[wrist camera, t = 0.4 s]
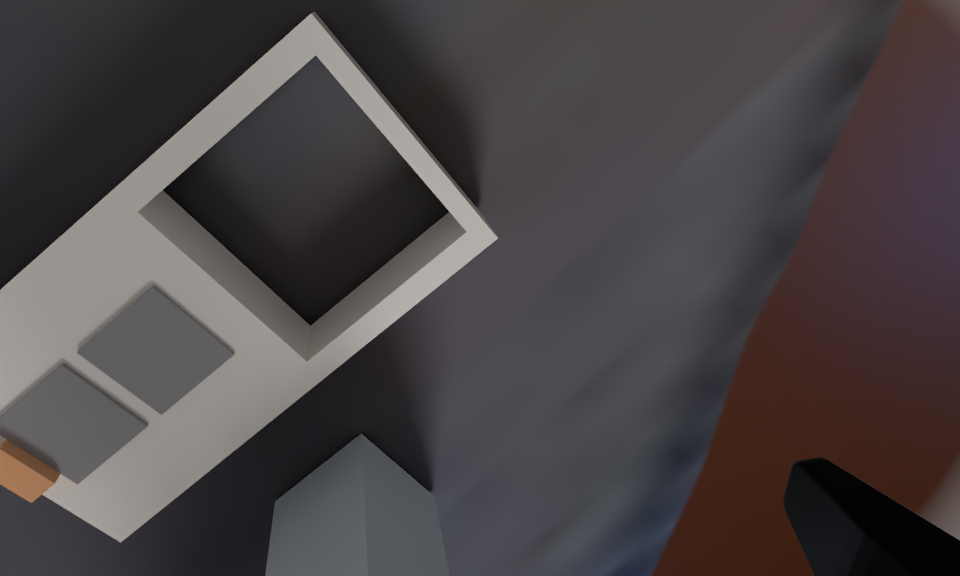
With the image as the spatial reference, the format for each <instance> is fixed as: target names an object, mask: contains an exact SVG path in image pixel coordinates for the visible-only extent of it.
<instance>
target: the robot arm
mask: <svg viewBox="0 0 960 576" xmlns="http://www.w3.org/2000/svg"><path fill="white" fill-rule="evenodd" d="M784 507H785V511H786V514H787V516H788V518H789V521H790V523H791V525H792V527H793V529H794V531H795V534H796V536H797V538H798V540H799V542H800V544H801V547H802V549H803V551H804V553H805V555H806V557H807V560H808V562H809V564H810V566H811V568H812V570H813V573H814V575H815V576H960V540H958V539H956V538H955V537H953V536H951V535H950V534H948V533H946V532H945V531H943V530H942V529H940V528H938V527H936V526H935V525H933V524H932V523H930V522H929V521H927V520H925V519H924V518H922V517H920V516H919V515H917V514H916V513H914V512H912V511H910V510H909V509H907V508H906V507H904V506H902V505H901V504H899V503H897V502H896V501H894V500H893V499H891V498H889V497H888V496H886V495H884V494H883V493H881V492H879V491H878V490H876V489H875V488H873V487H871V486H869V485H868V484H866V483H865V482H863V481H862V480H860V479H858V478H857V477H855V476H853V475H852V474H850V473H849V472H847V471H845V470H844V469H842V468H840V467H839V466H837V465H835V464H834V463H832V462H831V461H829V460H827V459H824V458H812V459H807V460H801V461H797V462H796V463H794V465H793V466H792V469H791V472H790V476H789V480H788V484H787V487H786V491H785V495H784Z"/></svg>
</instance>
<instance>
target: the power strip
mask: <svg viewBox="0 0 960 576" xmlns="http://www.w3.org/2000/svg"><path fill="white" fill-rule="evenodd" d="M314 56H317V57H318V58H319V59H320V61H321V62H322V63H323V64H324V65H325V66H326V68H327V69H328V70H329V71H330V72H331V74H332V75H333V76H334V77H335V78H336V79H337V81H338V82H339V83H340V84H341V85H342V86H343V88H344V89H345V90H346V91H347V92H348V93H349V95H350V96H351V97H352V98H353V99H354V100H355V102H356V103H357V104H358V105H359V106H360V107H361V109H362V110H363V111H364V112H365V113H366V115H367V116H368V117H369V118H370V119H371V120H372V122H373V123H374V124H375V125H376V126H377V127H378V129H379V130H380V131H381V132H382V133H383V134H384V136H385V137H386V138H387V139H388V140H389V141H390V143H391V144H392V145H393V146H394V147H395V149H396V150H397V151H398V152H399V153H400V154H401V156H402V157H403V158H404V159H405V160H406V161H407V163H408V164H409V165H410V166H411V167H412V168H413V170H414V171H415V172H416V173H417V174H418V175H419V177H420V178H421V179H422V180H423V181H424V183H425V184H426V185H427V186H428V187H429V188H430V190H431V191H432V192H433V193H434V194H435V195H436V197H437V198H438V199H439V200H440V201H441V202H442V204H443V205H444V206H445V207H446V208H447V209H448V211H449V212H448V213H447V214H446V215H445V216H444V217H442V218H441V219H440V220H439V221H437V222H436V223H435V224H434V225H433V226H431V227H430V228H429V229H428V230H427V231H425V232H424V233H423V234H422V235H420V236H419V237H418V238H417V239H416V240H414V241H413V242H412V243H411V244H409V245H408V246H407V247H406V248H405V249H403V250H402V251H401V252H400V253H398V254H397V255H396V256H395V257H394V258H392V259H391V260H390V261H389V262H388V263H386V264H385V265H384V266H383V267H381V268H380V269H379V270H378V271H377V272H375V273H374V274H373V275H372V276H370V277H369V278H368V279H367V280H366V281H364V282H363V283H362V284H361V285H359V286H358V287H357V288H356V289H355V290H353V291H352V292H351V293H350V294H349V295H347V296H346V297H345V298H344V299H342V300H341V301H340V302H339V303H338V304H336V305H335V306H334V307H333V308H331V309H330V310H329V311H328V312H327V313H325V314H324V315H323V316H322V317H320V318H319V319H318V320H317V321H316V322H314V323H313V324H312V325H311V326H310V325H309V324H308V323H307V322H306V321H305V320H304V319H303V318H301V317H300V316H299V315H298V314H297V313H296V312H295V311H294V310H293V309H292V308H291V307H289V306H288V305H287V304H286V303H285V302H284V301H283V300H282V299H281V298H280V297H279V296H277V295H276V294H275V293H274V292H273V291H272V290H271V289H270V288H269V287H268V286H267V285H266V284H264V283H263V282H262V281H261V280H260V279H259V278H258V277H257V276H256V275H255V274H254V273H252V272H251V271H250V270H249V269H248V268H247V267H246V266H245V265H244V264H243V263H242V262H240V261H239V260H238V259H237V258H236V257H235V256H234V255H233V254H232V253H231V252H230V251H228V250H227V249H226V248H225V247H224V246H223V245H222V244H221V243H220V242H219V241H218V240H217V239H215V238H214V237H213V236H212V235H211V234H210V233H209V232H208V231H207V230H206V229H205V228H203V227H202V226H201V225H200V224H199V223H198V222H197V221H196V220H195V219H194V218H193V217H191V216H190V215H189V214H188V213H187V212H186V211H185V210H184V209H183V208H182V207H181V206H179V205H178V204H177V203H176V202H175V201H174V200H173V199H172V198H171V197H170V196H169V195H167V194H166V193H165V192H164V191H163V189H164V188H165V187H167V186H168V185H169V184H170V183H171V182H172V181H173V180H174V179H176V178H177V177H178V176H179V175H180V174H181V173H182V172H184V171H185V170H186V169H187V168H188V167H189V166H190V165H192V164H193V163H194V162H195V161H196V160H197V159H198V158H200V157H201V156H202V155H203V154H204V153H205V152H206V151H207V150H209V149H210V148H211V147H212V146H213V145H214V144H215V143H217V142H218V141H219V140H220V139H221V138H222V137H223V136H225V135H226V134H227V133H228V132H229V131H230V130H231V129H233V128H234V127H235V126H236V125H237V124H238V123H239V122H240V121H242V120H243V119H244V118H245V117H246V116H247V115H248V114H250V113H251V112H252V111H253V110H254V109H255V108H256V107H258V106H259V105H260V104H261V103H262V102H263V101H264V100H265V99H267V98H268V97H269V96H270V95H271V94H272V93H273V92H275V91H276V90H277V89H278V88H279V87H280V86H281V85H283V84H284V83H285V82H286V81H287V80H288V79H289V78H291V77H292V76H293V75H294V74H295V73H296V72H297V71H298V70H300V69H301V68H302V67H303V66H304V65H305V64H306V63H308V62H309V61H310V60H311V59H312V58H313V57H314ZM497 239H498V238H497V236H496V235H495V233H494V232H493V230H492V228H491V227H490V225H489V224H488V222H487V221H486V219H485V218H484V216H483V215H482V213H481V212H480V211H479V210H478V209H477V207H476V206H475V205H474V204H473V203H472V201H471V200H470V199H469V198H468V197H467V195H466V194H465V193H464V192H463V190H462V189H461V188H460V187H459V186H458V184H457V183H456V182H455V181H454V180H453V178H452V177H451V176H450V175H449V174H448V172H447V171H446V170H445V169H444V167H443V166H442V165H441V164H440V163H439V161H438V160H437V159H436V158H435V157H434V155H433V154H432V153H431V152H430V151H429V149H428V148H427V147H426V146H425V144H424V143H423V142H422V141H421V140H420V138H419V137H418V136H417V135H416V134H415V132H414V131H413V130H412V129H411V128H410V126H409V125H408V124H407V123H406V121H405V120H404V119H403V118H402V117H401V115H400V114H399V113H398V112H397V111H396V109H395V108H394V107H393V106H392V105H391V103H390V102H389V101H388V100H387V98H386V97H385V96H384V95H383V94H382V92H381V91H380V90H379V89H378V88H377V86H376V85H375V84H374V83H373V81H372V80H371V79H370V78H369V77H368V75H367V74H366V73H365V72H364V71H363V69H362V68H361V67H360V66H359V65H358V63H357V62H356V61H355V60H354V58H353V57H352V56H351V55H350V54H349V52H348V51H347V50H346V49H345V48H344V46H343V45H342V44H341V43H340V42H339V40H338V39H337V38H336V37H335V35H334V34H333V33H332V32H331V31H330V29H329V28H328V27H327V26H326V25H325V23H324V22H323V21H322V20H321V19H320V17H319V16H318V15H317V14H316V12H313V13H311V14H310V15H309V16H308V17H306V18H305V19H304V20H303V21H302V22H301V23H300V24H299V25H297V26H296V27H295V28H294V29H293V30H292V31H291V32H290V33H288V34H287V35H286V36H285V37H284V38H283V39H282V40H281V41H279V42H278V43H277V44H276V45H275V46H274V47H273V48H272V49H270V50H269V51H268V52H267V53H266V54H265V55H264V56H263V57H261V58H260V59H259V60H258V61H257V62H256V63H255V64H254V65H253V66H251V67H250V68H249V69H248V70H247V71H246V72H245V73H244V74H242V75H241V76H240V77H239V78H238V79H237V80H236V81H235V82H233V83H232V84H231V85H230V86H229V87H228V88H227V89H226V90H224V91H223V92H222V93H221V94H220V95H219V96H218V97H217V98H215V99H214V100H213V101H212V102H211V103H210V104H209V105H208V106H206V107H205V108H204V109H203V110H202V111H201V112H200V113H199V114H197V115H196V116H195V117H194V118H193V119H192V120H191V121H190V122H188V123H187V124H186V125H185V126H184V127H183V128H182V129H181V130H179V131H178V132H177V133H176V134H175V135H174V136H173V137H172V138H170V139H169V140H168V141H167V142H166V143H165V144H164V145H163V146H161V147H160V148H159V149H158V150H157V151H156V152H155V153H154V154H152V155H151V156H150V157H149V158H148V159H147V160H146V161H145V162H143V163H142V164H141V165H140V166H139V167H138V168H137V169H136V170H134V171H133V172H132V173H131V174H130V175H129V176H128V177H127V178H125V179H124V180H123V181H122V182H121V183H120V184H119V185H118V186H116V187H115V188H114V189H113V190H112V191H111V192H110V193H109V194H107V195H106V196H105V197H104V198H103V199H102V200H101V201H100V202H98V203H97V204H96V205H95V206H94V207H93V208H92V209H91V210H89V211H88V212H87V213H86V214H85V215H84V216H83V217H82V218H80V219H79V220H78V221H77V222H76V223H75V224H74V225H73V226H71V227H70V228H69V229H68V230H67V231H66V232H65V233H64V234H62V235H61V236H60V237H59V238H58V239H57V240H56V241H55V242H53V243H52V244H51V245H50V246H49V247H48V248H47V249H46V250H44V251H43V252H42V253H41V254H40V255H39V256H38V257H37V258H35V259H34V260H33V261H32V262H31V263H30V264H29V265H28V266H26V267H25V268H24V269H23V270H22V271H21V272H20V273H19V274H17V275H16V276H15V277H14V278H13V279H12V280H11V281H10V282H8V283H7V284H6V285H5V286H4V287H3V288H2V289H1V290H0V484H1V485H2V486H4V487H6V488H7V489H9V490H11V491H12V492H14V493H16V494H17V495H19V496H21V497H22V498H24V499H26V500H27V501H29V502H31V503H32V502H33V501H34V500H36V499H37V498H38V497H39V496H40V495H44V496H45V497H47V498H49V499H50V500H52V501H54V502H55V503H57V504H58V505H60V506H62V507H63V508H65V509H67V510H68V511H70V512H72V513H73V514H75V515H76V516H78V517H80V518H81V519H83V520H85V521H86V522H88V523H89V524H91V525H93V526H94V527H96V528H98V529H99V530H101V531H103V532H104V533H106V534H107V535H109V536H111V537H112V538H114V539H116V540H117V541H119V542H120V543H121V542H122V541H123V540H125V539H126V538H127V537H128V536H129V535H131V534H132V533H133V532H134V531H136V530H137V529H138V528H139V527H141V526H142V525H143V524H144V523H146V522H147V521H148V520H149V519H151V518H152V517H153V516H154V515H156V514H157V513H158V512H159V511H160V510H162V509H163V508H164V507H165V506H167V505H168V504H169V503H170V502H172V501H173V500H174V499H175V498H177V497H178V496H179V495H180V494H182V493H183V492H184V491H185V490H187V489H188V488H189V487H190V486H191V485H193V484H194V483H195V482H196V481H198V480H199V479H200V478H201V477H203V476H204V475H205V474H206V473H208V472H209V471H210V470H211V469H213V468H214V467H215V466H216V465H218V464H219V463H220V462H221V461H222V460H224V459H225V458H226V457H227V456H229V455H230V454H231V453H232V452H234V451H235V450H236V449H237V448H239V447H240V446H241V445H242V444H244V443H245V442H246V441H247V440H249V439H250V438H251V437H252V436H253V435H255V434H256V433H257V432H258V431H260V430H261V429H262V428H263V427H265V426H266V425H267V424H268V423H270V422H271V421H272V420H273V419H275V418H276V417H277V416H278V415H280V414H281V413H282V412H283V411H284V410H286V409H287V408H288V407H289V406H291V405H292V404H293V403H294V402H296V401H297V400H298V399H299V398H301V397H302V396H303V395H304V394H306V393H307V392H308V391H309V390H311V389H312V388H313V387H314V386H315V385H317V384H318V383H319V382H320V381H322V380H323V379H324V378H325V377H327V376H328V375H329V374H330V373H332V372H333V371H334V370H335V369H337V368H338V367H339V366H340V365H342V364H343V363H344V362H345V361H346V360H348V359H349V358H350V357H351V356H353V355H354V354H355V353H356V352H358V351H359V350H360V349H361V348H363V347H364V346H365V345H366V344H368V343H369V342H370V341H371V340H373V339H374V338H375V337H376V336H377V335H379V334H380V333H381V332H382V331H384V330H385V329H386V328H387V327H389V326H390V325H391V324H392V323H394V322H395V321H396V320H397V319H399V318H400V317H401V316H402V315H404V314H405V313H406V312H407V311H408V310H410V309H411V308H412V307H413V306H415V305H416V304H417V303H418V302H420V301H421V300H422V299H423V298H425V297H426V296H427V295H428V294H430V293H431V292H432V291H433V290H435V289H436V288H437V287H438V286H439V285H441V284H442V283H443V282H444V281H446V280H447V279H448V278H449V277H451V276H452V275H453V274H454V273H456V272H457V271H458V270H459V269H461V268H462V267H463V266H464V265H466V264H467V263H468V262H469V261H470V260H472V259H473V258H474V257H475V256H477V255H478V254H479V253H480V252H482V251H483V250H484V249H485V248H487V247H488V246H489V245H490V244H492V243H493V242H494V241H495V240H497Z"/></svg>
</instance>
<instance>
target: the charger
mask: <svg viewBox="0 0 960 576" xmlns="http://www.w3.org/2000/svg"><path fill="white" fill-rule="evenodd" d="M265 576H449V571H448V566H447V561H446V555H445V550H444V545H443V539H442V534H441V529H440V523H439V518H438V513H437V507H436V502H435V497H434V496H433V495H432V494H431V493H430V492H429V491H428V490H426V489H425V488H424V487H423V486H422V485H421V484H419V483H418V482H417V481H416V480H415V479H414V478H412V477H411V476H410V475H409V474H408V473H407V472H405V471H404V470H403V469H402V468H401V467H400V466H398V465H397V464H396V463H395V462H394V461H393V460H391V459H390V458H389V457H388V456H387V455H386V454H385V453H383V452H382V451H381V450H380V449H379V448H378V447H376V446H375V445H374V444H373V443H372V442H371V441H369V440H368V439H367V438H366V437H365V436H364V435H362V434H360V435H359V436H357V437H356V438H355V439H354V440H352V441H351V442H350V443H349V444H347V445H346V446H345V447H343V448H342V449H341V450H340V451H338V452H337V453H336V454H335V455H333V456H332V457H331V458H329V459H328V460H327V461H326V462H324V463H323V464H322V465H321V466H319V467H318V468H317V469H316V470H314V471H313V472H312V473H310V474H309V475H308V476H307V477H305V478H304V479H303V480H302V481H300V482H299V483H298V484H296V485H295V486H294V487H293V488H291V489H290V490H289V491H288V492H286V493H285V494H284V495H283V496H281V497H280V498H279V499H277V500H276V501H275V505H274V512H273V520H272V528H271V535H270V543H269V550H268V558H267V566H266V573H265Z"/></svg>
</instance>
